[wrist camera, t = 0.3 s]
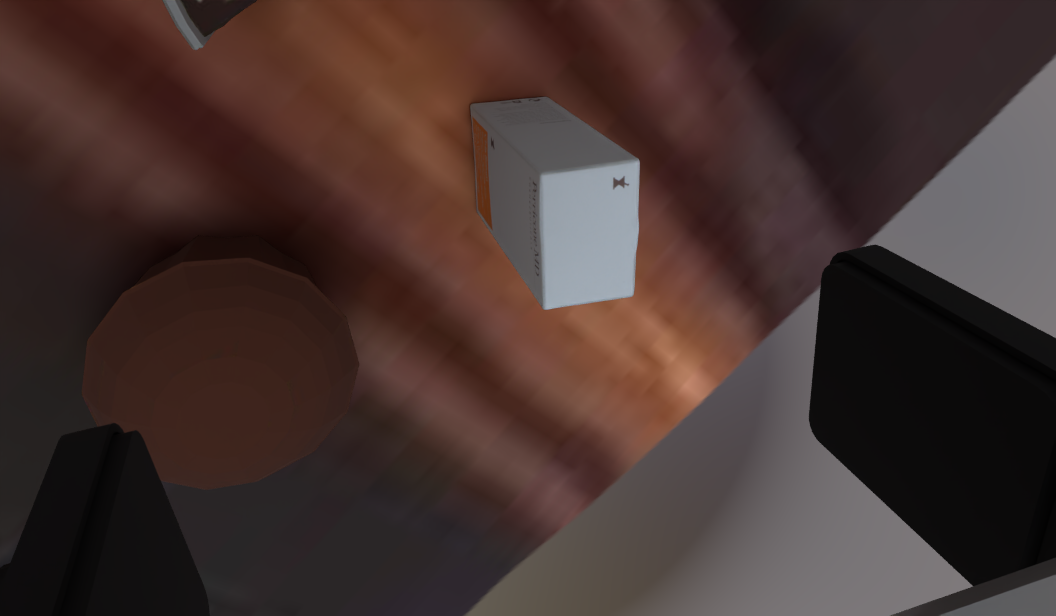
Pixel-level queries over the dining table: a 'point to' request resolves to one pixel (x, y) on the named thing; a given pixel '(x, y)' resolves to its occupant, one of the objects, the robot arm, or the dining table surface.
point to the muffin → (222, 363)
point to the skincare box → (557, 200)
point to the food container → (203, 17)
